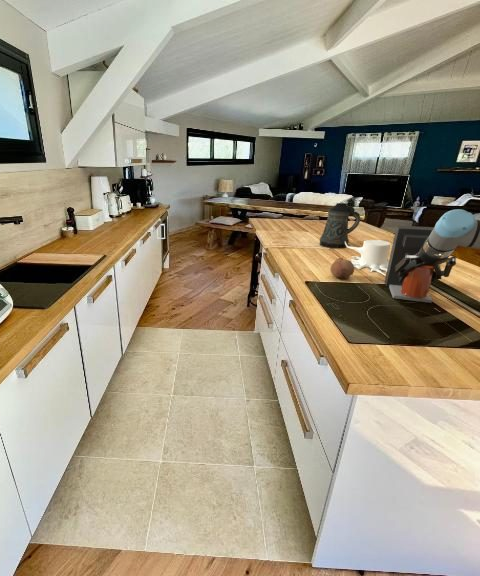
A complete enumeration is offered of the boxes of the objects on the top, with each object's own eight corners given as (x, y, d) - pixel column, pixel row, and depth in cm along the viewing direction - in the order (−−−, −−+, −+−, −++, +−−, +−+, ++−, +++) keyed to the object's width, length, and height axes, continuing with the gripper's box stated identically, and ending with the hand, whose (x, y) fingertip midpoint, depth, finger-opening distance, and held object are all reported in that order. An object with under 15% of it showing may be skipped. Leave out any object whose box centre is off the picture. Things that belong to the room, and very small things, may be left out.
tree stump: (332, 265, 155) (335, 243, 151) (352, 253, 174) (356, 233, 169) (395, 277, 137) (401, 252, 133) (411, 263, 155) (416, 240, 151)
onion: (332, 281, 143) (329, 260, 144) (355, 278, 139) (351, 256, 140) (331, 281, 134) (328, 258, 135) (356, 277, 130) (352, 254, 131)
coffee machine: (423, 286, 127) (439, 227, 119) (434, 303, 112) (453, 237, 103) (384, 282, 133) (396, 225, 124) (389, 297, 118) (404, 234, 109)
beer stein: (315, 242, 200) (320, 202, 191) (346, 241, 199) (352, 201, 190) (324, 248, 185) (330, 205, 176) (358, 248, 184) (365, 204, 175)
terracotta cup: (424, 291, 116) (432, 262, 112) (429, 299, 109) (437, 269, 105) (399, 288, 119) (405, 260, 115) (402, 296, 112) (409, 267, 108)
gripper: (396, 256, 98) (381, 286, 118) (480, 262, 90) (449, 293, 110) (398, 236, 101) (382, 268, 121) (479, 240, 93) (448, 274, 113)
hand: (414, 280), depth 115 cm, fingers closed on terracotta cup, 8 cm apart
